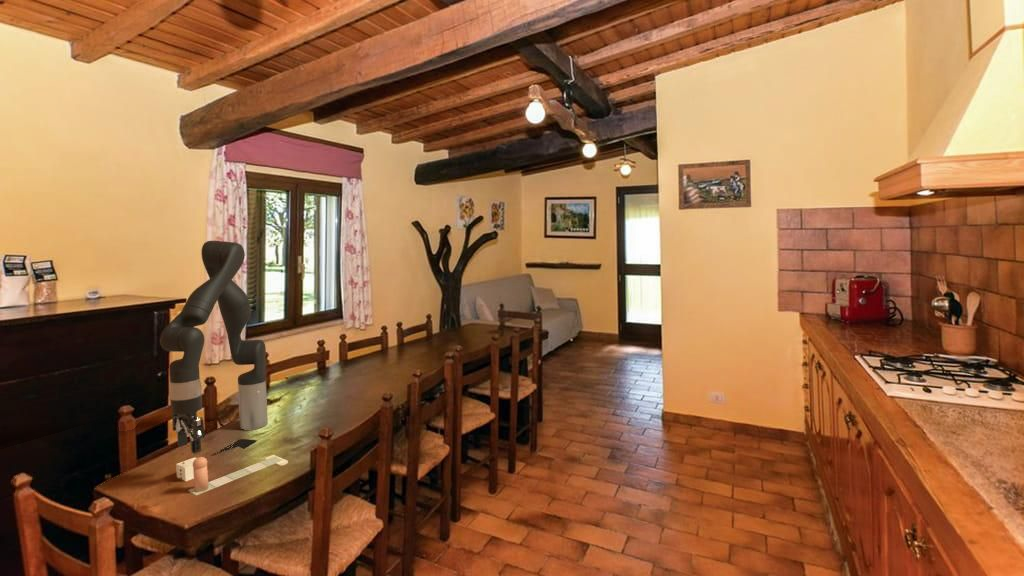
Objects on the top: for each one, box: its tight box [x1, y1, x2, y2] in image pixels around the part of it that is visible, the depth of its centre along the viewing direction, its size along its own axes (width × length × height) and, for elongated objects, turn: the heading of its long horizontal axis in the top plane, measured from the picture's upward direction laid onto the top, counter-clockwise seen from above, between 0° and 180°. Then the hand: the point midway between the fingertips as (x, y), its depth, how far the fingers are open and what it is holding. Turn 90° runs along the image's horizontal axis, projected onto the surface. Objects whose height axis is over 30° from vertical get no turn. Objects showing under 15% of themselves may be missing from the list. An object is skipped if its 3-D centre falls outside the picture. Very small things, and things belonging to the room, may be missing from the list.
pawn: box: [193, 456, 209, 492], centre depth 128 cm, size 3×3×9 cm
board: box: [187, 454, 289, 496], centre depth 137 cm, size 8×26×1 cm, turn 148°
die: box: [175, 457, 198, 482], centre depth 136 cm, size 5×5×5 cm
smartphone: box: [208, 438, 258, 457], centre depth 156 cm, size 7×1×15 cm
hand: (189, 448), depth 135 cm, fingers open, 8 cm apart
